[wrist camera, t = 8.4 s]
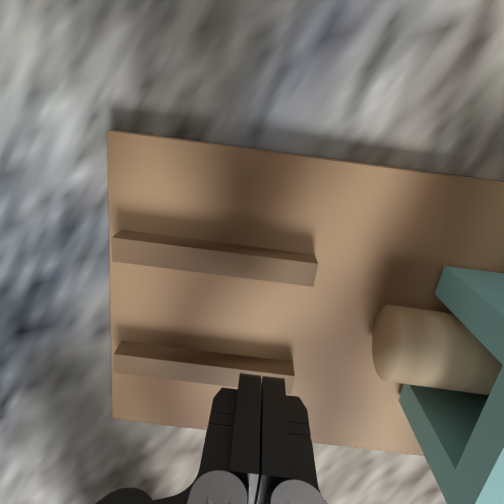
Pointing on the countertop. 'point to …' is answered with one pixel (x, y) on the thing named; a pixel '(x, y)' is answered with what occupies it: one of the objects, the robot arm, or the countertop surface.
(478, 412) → the block
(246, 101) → the countertop surface
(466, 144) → the countertop surface
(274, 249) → the board
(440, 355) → the dowel
